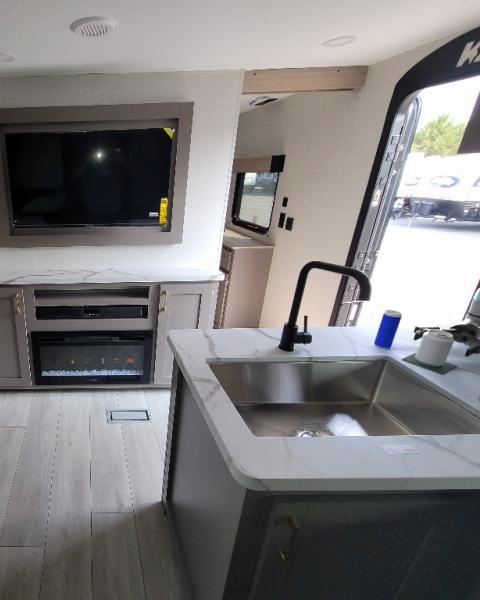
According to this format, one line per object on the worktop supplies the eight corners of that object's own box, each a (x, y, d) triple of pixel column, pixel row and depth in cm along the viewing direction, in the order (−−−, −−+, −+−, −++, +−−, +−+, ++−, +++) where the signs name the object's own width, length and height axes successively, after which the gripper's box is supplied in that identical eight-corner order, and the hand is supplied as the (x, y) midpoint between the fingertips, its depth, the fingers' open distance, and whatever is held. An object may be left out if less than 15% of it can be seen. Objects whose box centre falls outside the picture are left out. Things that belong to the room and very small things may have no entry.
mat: (456, 366, 116) (457, 365, 116) (441, 374, 112) (442, 373, 111) (416, 352, 125) (416, 352, 125) (401, 359, 121) (401, 359, 121)
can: (422, 366, 116) (434, 336, 112) (409, 355, 123) (420, 327, 118) (449, 369, 114) (462, 338, 110) (434, 358, 121) (446, 329, 116)
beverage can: (387, 344, 131) (399, 310, 126) (392, 350, 127) (405, 315, 122) (371, 342, 133) (382, 308, 128) (376, 348, 129) (387, 313, 124)
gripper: (512, 354, 116) (487, 370, 107) (420, 328, 137) (393, 339, 129) (521, 336, 113) (497, 350, 105) (426, 311, 134) (399, 322, 126)
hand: (440, 344), depth 117 cm, fingers open, 13 cm apart
